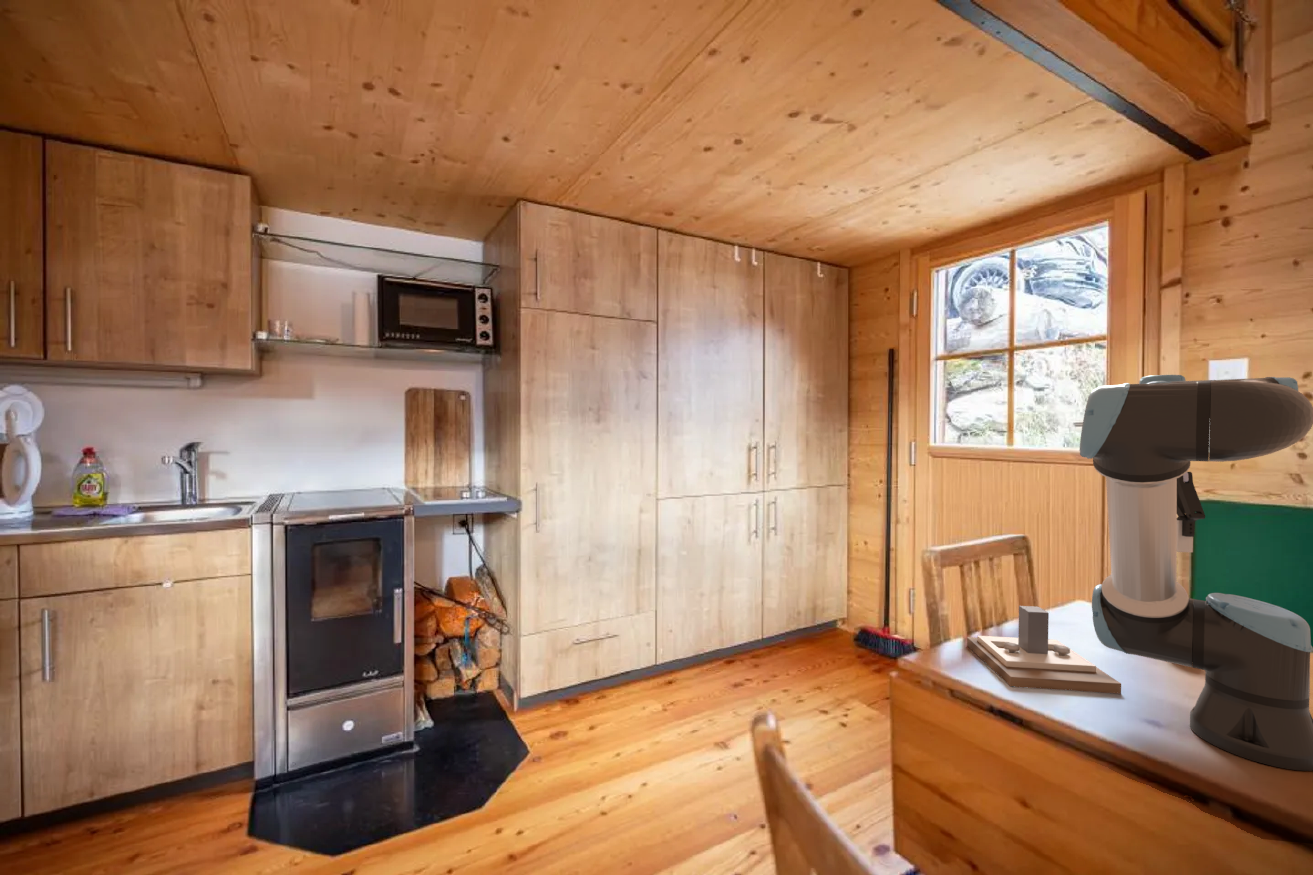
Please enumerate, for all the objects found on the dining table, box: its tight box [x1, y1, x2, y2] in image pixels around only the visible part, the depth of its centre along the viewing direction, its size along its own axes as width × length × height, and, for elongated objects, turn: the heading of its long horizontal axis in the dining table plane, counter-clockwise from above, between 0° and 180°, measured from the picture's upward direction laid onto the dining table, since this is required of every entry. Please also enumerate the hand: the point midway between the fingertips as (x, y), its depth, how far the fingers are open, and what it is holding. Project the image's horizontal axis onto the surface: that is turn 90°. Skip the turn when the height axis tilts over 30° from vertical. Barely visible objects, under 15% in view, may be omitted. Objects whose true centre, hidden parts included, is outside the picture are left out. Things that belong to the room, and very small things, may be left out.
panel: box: [976, 605, 1097, 672], centre depth 121 cm, size 14×17×10 cm
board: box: [966, 636, 1122, 695], centre depth 119 cm, size 21×20×5 cm
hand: (1158, 544), depth 119 cm, fingers open, 13 cm apart
